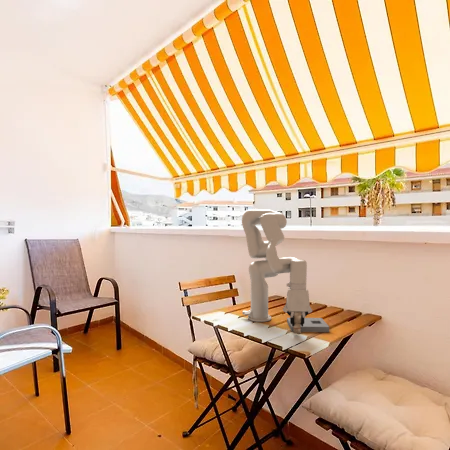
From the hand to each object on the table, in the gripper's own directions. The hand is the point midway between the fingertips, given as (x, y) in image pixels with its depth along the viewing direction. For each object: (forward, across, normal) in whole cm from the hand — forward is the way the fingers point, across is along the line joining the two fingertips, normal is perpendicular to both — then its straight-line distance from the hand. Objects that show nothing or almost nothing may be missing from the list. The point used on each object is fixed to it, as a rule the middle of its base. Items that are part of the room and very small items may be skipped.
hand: (297, 324), depth 149 cm
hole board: (+5, +7, +12) cm, 15 cm away
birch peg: (+4, 0, 0) cm, 4 cm away
